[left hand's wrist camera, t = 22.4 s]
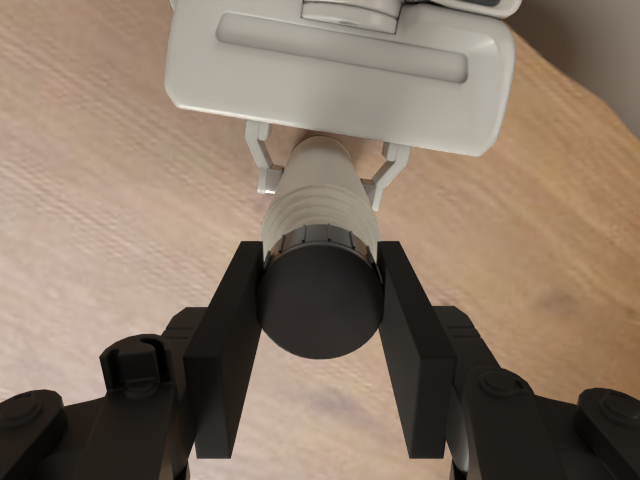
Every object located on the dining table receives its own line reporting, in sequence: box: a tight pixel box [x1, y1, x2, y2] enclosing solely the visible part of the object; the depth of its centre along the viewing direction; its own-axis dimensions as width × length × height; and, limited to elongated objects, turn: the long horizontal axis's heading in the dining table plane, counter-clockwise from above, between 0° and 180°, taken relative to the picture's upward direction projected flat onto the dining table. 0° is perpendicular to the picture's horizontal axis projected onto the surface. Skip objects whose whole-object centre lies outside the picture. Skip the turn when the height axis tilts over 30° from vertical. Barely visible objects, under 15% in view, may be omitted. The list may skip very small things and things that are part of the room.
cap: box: [256, 223, 385, 359], centre depth 14 cm, size 4×4×2 cm
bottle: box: [259, 136, 381, 263], centre depth 24 cm, size 5×5×22 cm
